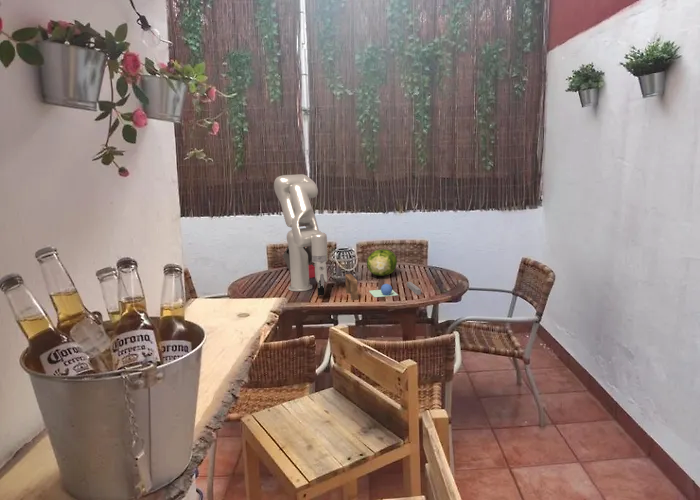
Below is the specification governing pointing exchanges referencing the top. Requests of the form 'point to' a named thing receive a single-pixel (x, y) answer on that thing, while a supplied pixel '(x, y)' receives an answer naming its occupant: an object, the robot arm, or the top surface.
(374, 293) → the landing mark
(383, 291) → the ball
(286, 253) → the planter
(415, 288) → the wall
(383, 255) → the lettuce
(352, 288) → the bridge
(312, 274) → the tape dispenser
